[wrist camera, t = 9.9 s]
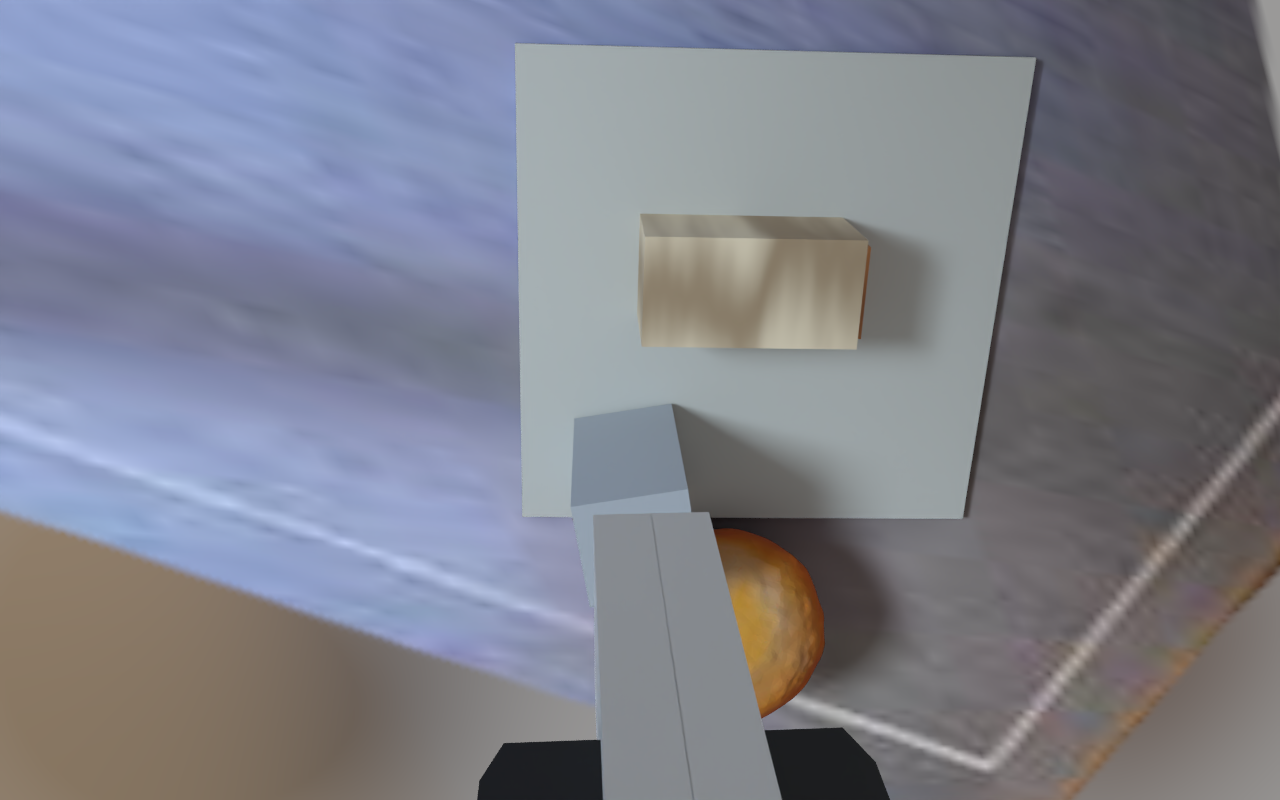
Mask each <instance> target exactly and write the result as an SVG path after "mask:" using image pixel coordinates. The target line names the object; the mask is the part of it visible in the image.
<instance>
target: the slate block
mask: <svg viewBox="0 0 1280 800" xmlns="http://www.w3.org/2000/svg"><path fill="white" fill-rule="evenodd" d="M571 512H572V517H573V523H574V528H575V533H576V538H577V543H578V548H579V553H580V559H581V564H582V569H583V574H584V579H585V584H586V589H587V595H588V600H589V605H590V607H594V552H593V515H603V514H645V513H688V512H691V506H690V500H689V493H688V487H687V481H686V476H685V471H684V466H683V461H682V456H681V450H680V445H679V440H678V435H677V430H676V424H675V419H674V414H673V409H672V404H665V405H659V406H652V407H646V408H639V409H633V410H626V411H620V412H613V413H607V414H600V415H594V416H587V417H581V418H574V438H573V461H572V484H571Z"/></svg>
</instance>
